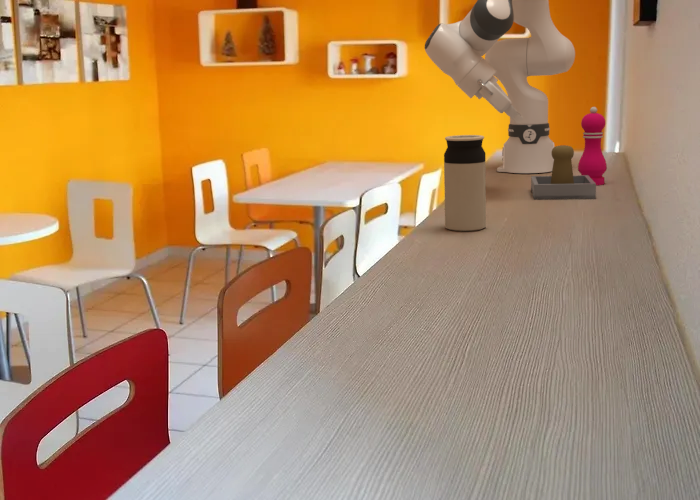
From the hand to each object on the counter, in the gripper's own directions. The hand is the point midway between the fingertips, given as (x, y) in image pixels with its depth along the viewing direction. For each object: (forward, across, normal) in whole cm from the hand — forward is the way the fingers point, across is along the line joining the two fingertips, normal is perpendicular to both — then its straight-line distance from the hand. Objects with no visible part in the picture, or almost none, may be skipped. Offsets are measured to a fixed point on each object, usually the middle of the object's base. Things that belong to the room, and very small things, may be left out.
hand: (520, 119), depth 196 cm
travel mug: (+4, -43, +22) cm, 48 cm away
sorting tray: (+20, 0, +6) cm, 21 cm away
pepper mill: (+27, +17, 0) cm, 32 cm away
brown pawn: (+20, 0, +5) cm, 20 cm away
